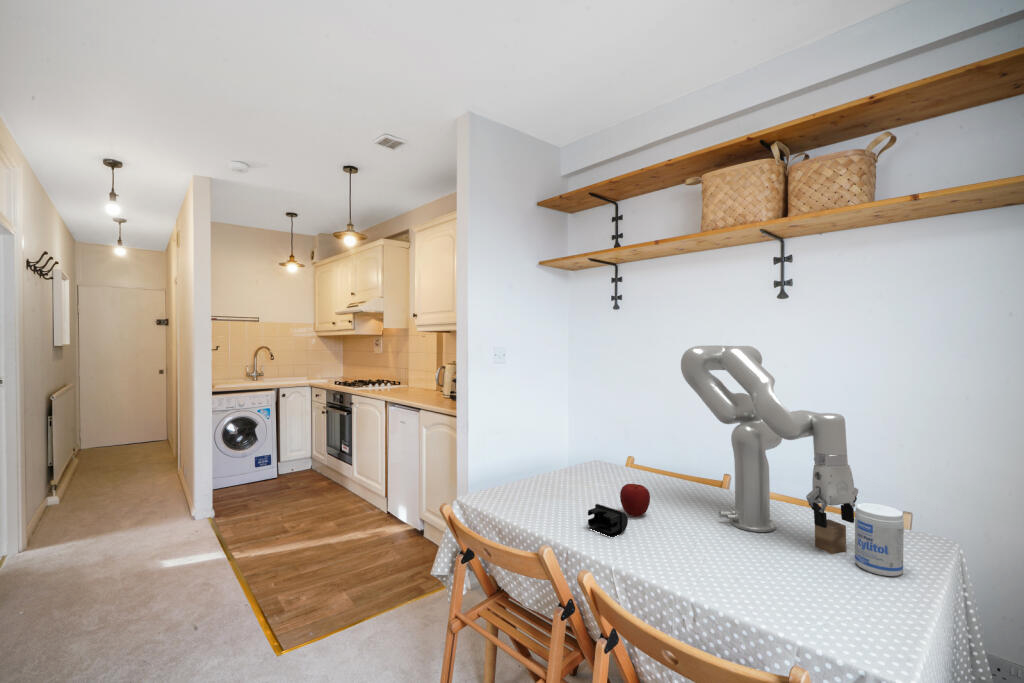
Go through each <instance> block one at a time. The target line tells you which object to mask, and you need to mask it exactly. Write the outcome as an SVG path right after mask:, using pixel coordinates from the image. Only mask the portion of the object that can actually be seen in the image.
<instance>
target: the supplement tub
mask: <svg viewBox="0 0 1024 683" xmlns="http://www.w3.org/2000/svg"><path fill="white" fill-rule="evenodd" d="M854 511H855V512H854V562H855V564H856V565H857V566H858V567H859V568H860V569H862V570H863V571H867V572H869V573H872V574H876V575H879V576H886V577H897V576H901V575H902V574H903V573H904V544H905V543H904V536H905V535H904V534H905V533H904V532H905V529H904V527H905V526H904V525H905V524H904V522H905V521H904V514H903V511H901V510H899V509H897V508H895V507H892V506H888V505H884V504H878V503H869V502H867V503H866V502H863V503H857V504H855V510H854Z"/></svg>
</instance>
